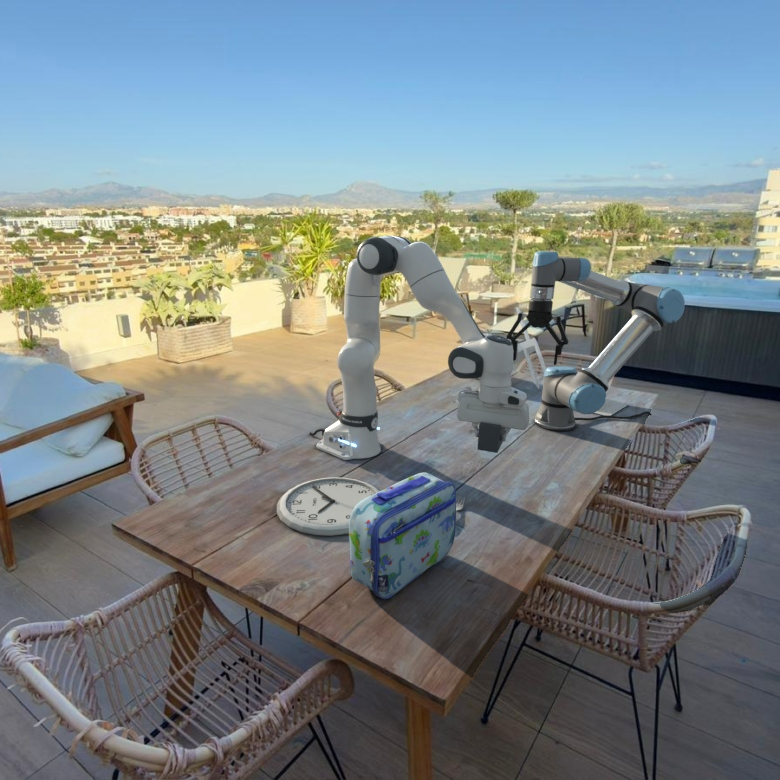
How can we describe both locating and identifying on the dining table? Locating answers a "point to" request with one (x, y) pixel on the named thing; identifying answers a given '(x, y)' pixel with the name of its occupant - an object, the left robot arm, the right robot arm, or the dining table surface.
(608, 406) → the invitation card
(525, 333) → the white plastic object
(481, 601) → the dining table surface
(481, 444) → the bar
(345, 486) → the wall clock
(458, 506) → the fork
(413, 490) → the lunch box
